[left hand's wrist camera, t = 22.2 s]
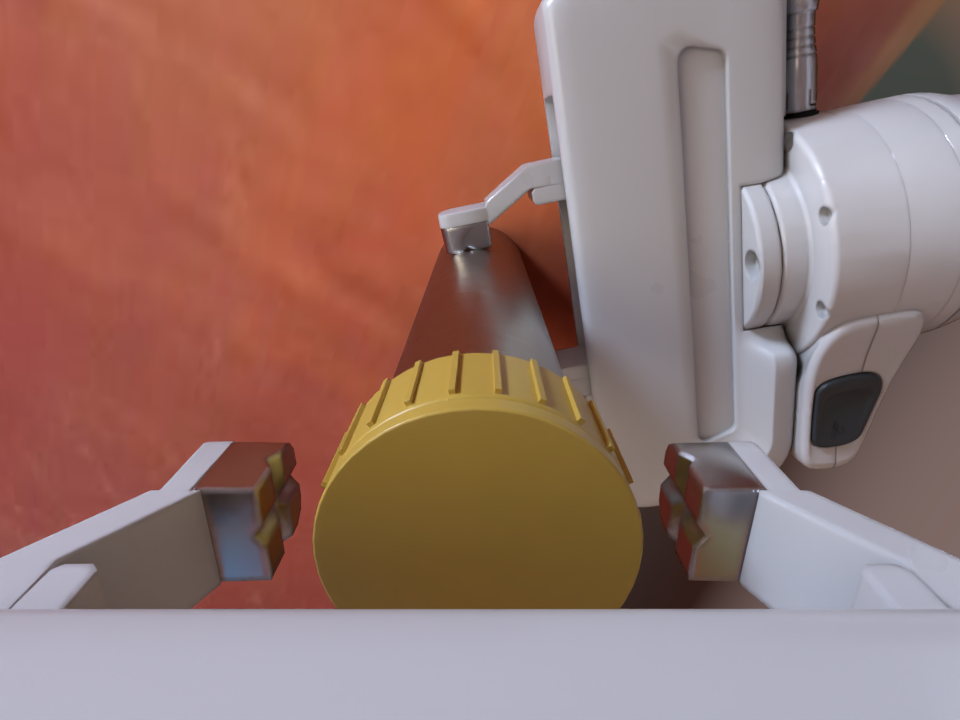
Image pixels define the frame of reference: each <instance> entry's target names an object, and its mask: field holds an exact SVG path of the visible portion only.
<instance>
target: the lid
mask: <svg viewBox="0 0 960 720" xmlns="http://www.w3.org/2000/svg"><path fill="white" fill-rule="evenodd" d="M631 483H634V481H633V479H632V476H631V474H630V472H629V470H628V468H627V465H626V463H625V461H624V459H623V456H622V454H621V452H620V450H619V448H618V445H617V443H616V441H615V439H614V437H613V434H612V432H611V430H610V428H609V429H606V427H605V424H604V422H603V420H602V417H601V415H600V413H599V411H598V408H597V406H596V404H595V402H594V401H593V400H590V401H589V402H588V401H587V400H586V399H585V397H584V396H583V395H582V394H581V393H580V392H579V391H578V390H577V389H576V388H574V387H573V386H572V383H571V380H570V378H569V377H567V376H566V375H565V376H564V377H563V378H561V377H560V376H558V375H557V374H555V373H553V372H552V371H550V370H548V369H546V368H544V367H542V366H539V365H538V363H537V360H535V359H532V358H531V360H530V362H529V361H526V360H523V359H520V358H516V357H512V356H506V355H500V354H499V351H498V350H493V351H492V353H466V354H460V353H459V350H458V351H453V354H452V355H450V356H445V357H440V358H436V359H434V360H431V361H428V362H425V363H422V361H421V360H419V361H417V362H415V365H414V367H413V368H411V369H409V370H407V371H405V372H403V373H401V374H400V375H398V376H397V377H395V378H394V379H392V380H391V381H390V380H389V379H388V378H387V379H385V380H384V381H383V383H382V386H381V388H380V390H379V391H378V392H377V393H376V394H375V395H374V396H373V397H372V398H371V399H370V401H369V402H368V403H367V404H366V405H365V404H363V403H361V405H360V406H359V408H358V410H357V412H356V414H355V416H354V419H353V421H352V423H351V425H350V427H349V429H348V432H345V434H344V436H343V439H342V441H341V443H340V445H339V447H338V449H337V452H336V454H335V456H334V458H333V460H332V462H331V464H330V467H329V469H328V471H327V473H326V475H325V477H324V480H323V482H322V485H321V487H323V488H325V490H324V493H323V495H322V497H321V500H320V502H319V505H318V508H317V512H316V516H315V520H314V530H313V548H314V558H315V562H316V566H317V570H318V574H319V577H320V579H321V581H322V584H323V586H324V589H325V591H326V592H327V594H328V596H329V598H330V599H331V601H332V603H333V604H334V606H335V607H336V608H337V609H620V607H621V606H622V604H623V603H624V602H625V600H626V598H627V596H628V595H629V593H630V591H631V589H632V587H633V585H634V582H635V580H636V577H637V574H638V571H639V567H640V562H641V557H642V552H643V529H642V521H641V516H640V511H639V508H638V506H637V502H636V499H635V497H634V495H633V492H632V490H631V488H630V486H629V484H631Z"/></svg>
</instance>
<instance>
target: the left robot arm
mask: <svg viewBox="0 0 960 720" xmlns="http://www.w3.org/2000/svg"><path fill="white" fill-rule="evenodd" d="M295 465H296V459H295V453H294V448H293V447H292V446H291V444H290V443H275V442H234V441H223V442H206V443H204V444H203V445H202V446H201V447H200V448H199V449H198V450H197V451H196V452H195V453H194V454H193V455H192V456H191V457H190V459H189V460H188V461H187V462H186V463H185V464H184V465H183V466H182V467H181V468H180V469H179V470H178V471H177V473H176V474H175V475H174V476H173V477H172V478H171V479H170V480H169V481H168V482H167V483H166V484H165V486H164V487H163V488H162V489H161V490H155V491H149V492H146V493H144V494H142V495H140V496H138V497H135V498H133V499H131V500H129V501H126V502H124V503H122V504H120V505H118V506H115V507H113V508H111V509H109V510H106V511H104V512H102V513H100V514H98V515H95V516H93V517H91V518H89V519H86V520H84V521H82V522H80V523H77V524H75V525H73V526H71V527H69V528H66V529H64V530H62V531H60V532H57V533H55V534H53V535H51V536H49V537H46V538H44V539H42V540H40V541H37V542H35V543H33V544H31V545H29V546H26V547H24V548H22V549H20V550H17V551H15V552H13V553H11V554H9V555H6V556H4V557H2V558H0V720H960V558H957V557H955V556H953V555H951V554H949V553H947V552H944V551H942V550H940V549H938V548H935V547H933V546H931V545H929V544H927V543H924V542H922V541H920V540H918V539H915V538H913V537H911V536H909V535H907V534H904V533H902V532H900V531H898V530H896V529H893V528H891V527H889V526H887V525H884V524H882V523H880V522H878V521H876V520H873V519H871V518H869V517H867V516H864V515H862V514H860V513H858V512H856V511H853V510H851V509H849V508H847V507H845V506H842V505H840V504H838V503H836V502H833V501H831V500H829V499H827V498H825V497H822V496H820V495H818V494H816V493H813V492H811V491H805V490H804V491H803V490H799V489H798V488H797V487H796V486H795V485H794V483H793V482H792V481H791V480H790V479H789V478H788V477H787V476H786V475H785V474H784V473H783V472H782V471H781V469H780V468H779V467H778V466H777V465H776V464H775V463H774V462H773V461H772V460H771V459H770V457H769V456H768V455H767V454H766V453H765V452H764V451H763V450H762V449H761V448H760V447H759V446H758V445H757V444H756V443H754V442H751V441H741V442H702V443H672V444H668V447H667V449H666V452H665V458H664V466H665V467H666V469H667V471H668V473H669V476H668V477H667V478H666V479H665V480H664V481H663V482H662V483H661V485H660V494H659V508H660V517H661V521H662V525H663V527H664V529H665V532H666V534H667V535H668V536H669V537H671V538H672V539H674V540H675V541H677V545H676V552H675V553H676V555H677V557H678V559H679V561H680V563H681V565H682V567H683V569H684V571H685V573H686V575H687V577H688V579H689V580H709V581H739V584H740V585H741V586H743V587H744V588H745V589H746V590H747V591H749V592H750V593H751V594H752V595H754V596H755V597H756V598H757V599H759V600H760V601H761V602H762V603H763V604H765V605H766V606H767V607H768V608H770V609H191V608H192V607H193V606H194V605H195V604H197V603H198V602H199V601H200V600H202V599H203V598H204V597H205V596H207V595H208V594H209V593H210V592H212V591H213V590H214V589H215V588H216V587H218V586H219V585H220V584H221V581H251V580H271V579H272V577H273V575H274V573H275V571H276V569H277V567H278V565H279V563H280V561H281V559H282V557H283V555H284V553H285V552H284V545H283V541H285V540H286V539H288V538H289V537H291V536H292V535H293V534H294V531H295V529H296V527H297V525H298V520H299V515H300V510H301V493H300V485H299V483H298V482H297V481H296V480H295V479H294V478H293V477H292V476H291V475H290V474H291V473H292V471H293V469H294V467H295Z"/></svg>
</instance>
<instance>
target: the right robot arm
mask: <svg viewBox="0 0 960 720" xmlns="http://www.w3.org/2000/svg"><path fill="white" fill-rule="evenodd" d="M818 6H819V0H542V2H541V3H540V6H539V8H538V10H537V13H536V16H535V20H534V30H535V38H536V45H537V53H538V60H539V67H540V74H541V82H542V89H543V96H544V103H545V111H546V118H547V125H548V132H549V140H550V147H551V154H552V158H549V159H544V160H539V161H535V162H530V163H525V164H522V165H521V166H520V167H519V168H518V169H517V170H515V171H514V172H513V173H512V174H511V175H510V176H509V177H508V178H507V179H506V180H504V181H503V182H502V183H501V184H500V185H499V186H498V187H497V188H496V189H494V190H493V191H492V192H491V193H490V194H489V195H488V196H487V197H486V198H485V202H482V203H477V204H472V205H467V206H462V207H457V208H452V209H448V210H445V211H442V212H440V213H439V214H438V218H439V223H440V228H441V232H442V236H443V240H444V245H445V249H446V253H447V254H455V253H460V252H463V251H464V250H465V249H466V248H467V247H470V248H472V249H481V248H486V247H491V246H492V242H491V235H490V229H489V224H491V223H492V222H493V221H494V220H495V219H497V218H498V217H499V216H500V215H501V214H502V213H503V212H505V211H506V210H507V209H508V208H509V207H510V206H512V205H513V204H514V203H515V202H516V201H517V200H518V199H520V198H521V197H522V196H523V195H524V194H525V193H527V192H528V196H529V198H530V199H531V200H532V201H533V203H535V204H536V205H540V204H545V203H551V202H556V201H558V205H559V212H560V219H561V227H562V234H563V241H564V248H565V256H566V263H567V270H568V277H569V285H570V292H571V299H572V306H573V313H574V321H575V328H576V335H577V342H578V346H577V347H572V348H567V349H561V350H556V351H555V353H556V356H557V358H558V361H559V364H560V367H561V370H562V372H563V375H564V376H565V375H566V376H567V377H569V378H570V380H571V383H572V386H573V387H574V388H576V389H577V390H578V391H579V392H580V393H581V394H582V395H583V396H585V399H586V400H587V401H588V402H589V401H590V400H593V401H594V402H595V404H596V406H597V408H598V411H599V413H600V415H601V417H602V420H603V422H604V424H605V427H606V429H609V428H610V430H611V432H612V434H613V437H614V439H615V441H616V443H617V445H618V448H619V450H620V452H621V454H622V456H623V459H624V461H625V463H626V465H627V468H628V470H629V472H630V474H631V476H632V479H633V481H634V483H631V484H629V486H630V488H631V490H632V492H633V495H634V497H635V499H636V502H637V506H638V507H650V506H659V494H660V485H661V483H662V482H663V481H664V480H665V479H666V478H667V477H668V476H669V473H668V471H667V469H666V467H665V466H664V458H665V452H666V449H667V447H668V444H672V443H702V442H741V441H751V442H754V443H756V444H757V445H758V446H759V447H760V448H761V449H762V450H763V451H764V452H765V453H766V454H767V455H768V456H769V457H770V459H771V460H772V461H773V462H774V463H775V464H776V465H777V466H778V467H780V466H781V465H782V464H783V462H784V461H785V459H786V458H787V456H788V453H789V454H790V455H791V456H793V457H794V458H795V459H797V460H798V461H799V462H800V463H802V464H803V465H804V466H806V467H807V468H810V469H827V468H834V467H838V466H842V465H844V464H846V463H848V462H850V461H851V460H852V459H853V458H854V457H855V456H856V455H857V453H858V452H859V450H860V448H861V446H862V444H863V441H864V439H865V437H866V435H867V432H868V430H869V428H870V425H871V423H872V421H873V418H874V416H875V414H876V412H877V410H878V408H879V405H880V403H881V401H882V399H883V397H884V395H885V393H886V391H887V389H888V387H889V385H890V383H891V382H892V380H893V378H894V376H895V374H896V373H897V371H898V369H899V367H900V366H901V364H902V362H903V361H904V359H905V358H906V356H907V355H908V353H909V352H910V350H911V349H912V347H913V346H914V344H915V342H916V341H917V339H918V337H919V335H920V334H921V333H925V332H928V331H931V330H934V329H937V328H940V327H942V326H944V325H946V324H949V323H951V322H953V321H956V320H958V319H960V94H959V95H946V94H938V93H910V94H903V95H897V96H892V97H888V98H883V99H878V100H873V101H868V102H863V103H859V104H854V105H849V106H844V107H839V108H834V109H829V110H823V111H819V110H818V111H816V108H817V107H816V106H817V68H818V66H817V54H816V51H817V49H816V45H815V43H816V39H815V36H814V34H815V27H814V25H815V16H816V10H817V9H818Z"/></svg>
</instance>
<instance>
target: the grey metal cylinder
mask: <svg viewBox="0 0 960 720" xmlns="http://www.w3.org/2000/svg"><path fill="white" fill-rule="evenodd" d="M489 229H490V235H491V242H492V246H491V247H486V248H481V249H472V248H470V247H467V248H466V249H465V250H464V251H463V252H460V253H455V254H447V253H446V249H445V245H443V247H442V249H441V251H440V253H439V255H438V258H437V261H436V263H435V266H434V269H433V272H432V274H431V277H430V280H429V282H428V285H427V288H426V291H425V293H424V296H423V299H422V301H421V304H420V307H419V310H418V312H417V315H416V318H415V320H414V323H413V326H412V328H411V331H410V334H409V337H408V339H407V342H406V345H405V347H404V350H403V353H402V356H401V358H400V361H399V364H398V366H397V369H396V372H395V375H394V377H393V379H394V378H395V377H397V376H398V375H400V374H401V373H403V372H405V371H407V370H409V369H411V368H413V367H414V365H415V362H417V361H419V360H421V361H422V363H425V362H428V361H431V360H434V359H436V358H440V357H445V356H450V355H452V354H453V351H458V350H459V353H460V354H466V353H492V351H493V350H498V351H499V354H500V355H506V356H512V357H516V358H520V359H523V360H526V361H529V362H530V360H531V358H532V359H535V360H537V363H538V365H539V366H542V367H544V368H546V369H548V370H550V371H552V372H553V373H555V374H557V375H558V376H560V377H561V378H563V377H564V375H563V372H562V370H561V367H560V364H559V361H558V358H557V356H556V353H555V350H554V347H553V344H552V342H551V339H550V336H549V333H548V330H547V327H546V325H545V322H544V319H543V316H542V313H541V311H540V308H539V305H538V302H537V299H536V297H535V294H534V291H533V288H532V285H531V282H530V280H529V277H528V274H527V271H526V268H525V266H524V263H523V260H522V257H521V254H520V252H519V250H518V248H517V246H516V245H515V244H514V242H513V241H512V240H511V239H510V238H509V237H508V236H507V235H505V234H504V233H502V232H500V231H499V230H496V229H494V228H490V227H489Z"/></svg>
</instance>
